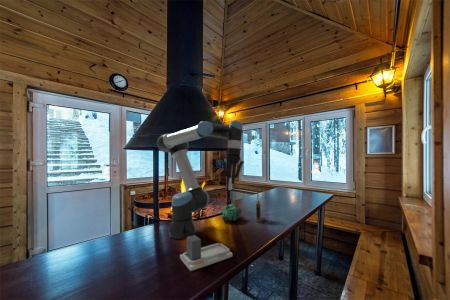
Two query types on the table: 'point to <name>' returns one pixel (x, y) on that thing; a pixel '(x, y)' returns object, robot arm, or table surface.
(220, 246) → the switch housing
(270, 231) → the table surface
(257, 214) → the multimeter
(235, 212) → the mineral
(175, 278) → the table surface
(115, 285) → the table surface
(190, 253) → the switch tab
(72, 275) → the table surface
